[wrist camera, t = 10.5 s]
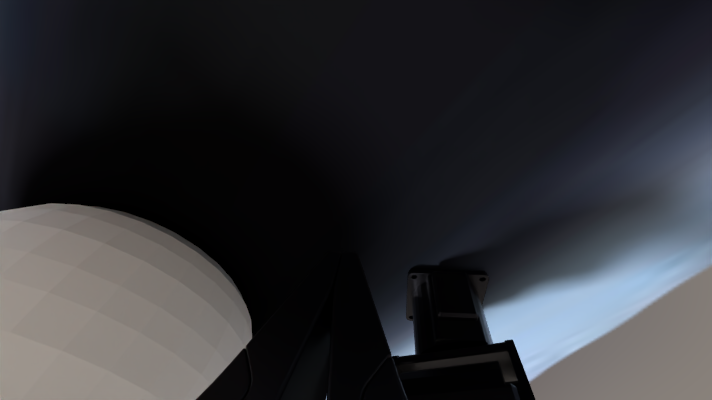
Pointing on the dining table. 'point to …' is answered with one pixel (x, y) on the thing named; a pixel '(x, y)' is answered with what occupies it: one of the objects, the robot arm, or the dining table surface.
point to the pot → (110, 308)
